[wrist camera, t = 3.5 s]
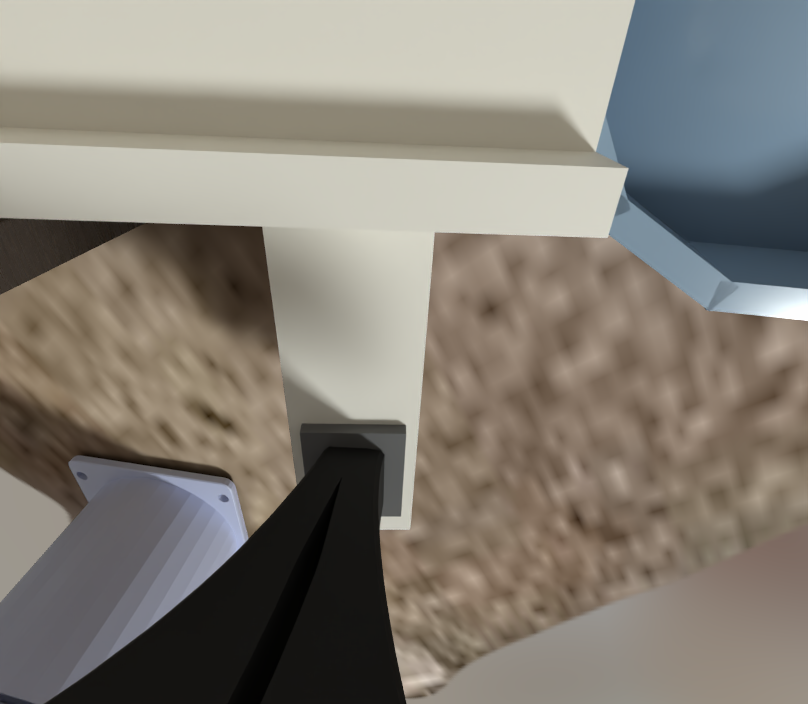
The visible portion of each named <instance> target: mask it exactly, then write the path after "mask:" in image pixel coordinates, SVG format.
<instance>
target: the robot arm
mask: <svg viewBox="0 0 808 704" xmlns="http://www.w3.org/2000/svg"><path fill="white" fill-rule="evenodd" d="M384 461H385V454H384V453H383V452H382V451H381V450H375V449H368V448H349V447H330V446H329V447H328V448H326V449H325V450H324V451H323V453H322V454H321V455H320V457H319V458H318V459H317V461H316V462H315V463H314V465H313V466H312V467H311V469H310V470H309V471H308V472H307V474H306V475H305V476H304V477H303V479H302V480H301V481H300V482H299V483H298V485H297V486H296V487H295V488H294V490H293V491H292V492H291V493H290V494H289V495H288V496H287V498H286V499H285V500H284V501H283V502H282V503H281V505H280V506H279V507H278V508H277V509H276V510H275V511H274V513H273V514H272V515H271V516H270V517H269V518H268V519H267V520H266V521H265V522H264V523H263V524H262V525H261V526H260V528H259V529H258V530H257V531H256V532H255V533H254V534H253V535H252V536H251V537H250V538H249V539H248V535H247V531H246V527H245V523H244V519H243V515H242V511H241V507H240V503H239V499H238V495H237V491H236V487H235V485H234V483H233V482H232V481H231V480H229V479H227V478H224V477H218V476H211V475H205V474H198V473H192V472H185V471H179V470H172V469H166V468H159V467H153V466H146V465H140V464H133V463H127V462H120V461H114V460H107V459H101V458H95V457H88V456H82V455H76V456H74V457H73V458H72V459H71V460H70V461H69V463H68V464H69V467H70V469H71V471H72V473H73V475H74V477H75V479H76V480H77V482H78V484H79V486H80V488H81V490H82V492H83V493H84V495H85V497H86V499H87V501H88V504H87V505H86V506H85V507H84V509H83V510H82V511H81V512H80V513H79V514H78V515H77V516H76V518H75V519H74V520H73V521H72V522H71V523H70V524H69V525H68V527H67V528H66V529H65V530H64V531H63V532H62V533H61V535H60V536H59V537H58V538H57V539H56V540H55V541H54V542H53V544H52V545H51V546H50V547H49V548H48V549H47V550H46V552H45V553H44V554H43V555H42V556H41V557H40V558H39V559H38V561H37V562H36V563H35V564H34V565H33V566H32V567H31V568H30V570H29V571H28V572H27V573H26V574H25V575H24V576H23V578H22V579H21V580H20V581H19V582H18V583H17V584H16V585H15V587H14V588H13V589H12V590H11V591H10V592H9V593H8V594H7V596H6V597H5V598H4V599H3V600H2V601H1V602H0V704H406V700H405V695H404V690H403V686H402V681H401V676H400V672H399V667H398V662H397V658H396V653H395V647H394V642H393V636H392V631H391V625H390V619H389V613H388V606H387V600H386V593H385V586H384V578H383V569H382V559H381V549H380V535H379V531H380V522H381V515H382V509H383V498H384Z"/></svg>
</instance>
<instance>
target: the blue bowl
mask: <svg viewBox="0 0 808 704" xmlns="http://www.w3.org/2000/svg"><path fill="white" fill-rule="evenodd" d="M596 152H597V153H599V154H601V155H603V156H605V157H607V158H609V159H611V160H613V161H615V162H617V163H619V164H621V165H623V166H625V167H627V168H629V169H628V172H627V175H626V179H625V182H624V185H623V189H622V192H621V195H620V198H619V202H618V205H617V208H616V212H615V215H614V218H613V222H612V225H611V228H610V231H609V235H610V236H611V237H612V238H614V239H615V240H616V241H618V242H619V243H620V244H622V245H623V246H624V247H626V248H627V249H628V250H630V251H631V252H632V253H634V254H635V255H636V256H637V257H639V258H640V259H641V260H643V261H644V262H645V263H647V264H648V265H649V266H651V267H652V268H653V269H655V270H656V271H657V272H659V273H660V274H661V275H663V276H664V277H665V278H666V279H668V280H669V281H670V282H672V283H673V284H674V285H676V286H677V287H678V288H680V289H681V290H682V291H684V292H685V293H686V294H688V295H689V296H690V297H691V298H693V299H694V300H695V301H697V302H698V303H699V304H701V305H702V306H703V307H704V308H705V309H706V310H709V311H720V312H730V313H739V314H749V315H759V316H768V317H778V318H788V319H797V320H807V321H808V0H635V3H634V7H633V11H632V15H631V19H630V23H629V26H628V30H627V34H626V38H625V42H624V46H623V49H622V53H621V57H620V61H619V65H618V69H617V73H616V76H615V80H614V84H613V88H612V92H611V96H610V99H609V103H608V107H607V111H606V115H605V119H604V123H603V126H602V130H601V134H600V138H599V142H598V146H597V149H596Z"/></svg>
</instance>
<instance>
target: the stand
mask: <svg viewBox="0 0 808 704" xmlns="http://www.w3.org/2000/svg"><path fill="white" fill-rule="evenodd" d="M142 224H144V223H140V222H109V221H79V220H49V219H18V218H0V294H2V293H5V292H7V291H9V290H11V289H13V288H15V287H17V286H19V285H21V284H23V283H25V282H27V281H29V280H31V279H33V278H35V277H37V276H39V275H41V274H43V273H45V272H47V271H49V270H51V269H53V268H55V267H57V266H59V265H61V264H63V263H65V262H67V261H69V260H71V259H73V258H75V257H77V256H79V255H81V254H83V253H85V252H87V251H89V250H91V249H93V248H95V247H97V246H99V245H102V244H104V243H106V242H108V241H110V240H112V239H114V238H116V237H118V236H120V235H122V234H124V233H126V232H128V231H130V230H132V229H134V228H136V227H138V226H140V225H142Z"/></svg>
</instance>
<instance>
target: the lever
mask: <svg viewBox="0 0 808 704" xmlns="http://www.w3.org/2000/svg"><path fill="white" fill-rule="evenodd" d="M634 3H635V0H0V218H18V219H49V220H79V221H109V222H140V223H170V224H200V225H231V226H261V227H262V229H263V236H264V244H265V251H266V259H267V266H268V274H269V281H270V288H271V296H272V303H273V311H274V318H275V326H276V333H277V341H278V348H279V355H280V363H281V370H282V378H283V385H284V393H285V400H286V408H287V415H288V422H289V430H290V437H291V445H292V452H293V460H294V467H295V474H296V482H297V485H298V483H299V482H300V481H301V480H302V479H303V477H304V476H305V475H306V474H307V472H308V471H309V470H310V469H311V467H312V466H313V465H314V463H315V462H316V461H317V459H318V458H319V457H320V455H321V454H322V453H323V451H324V450H325V449H326V448H328V447H329V446H330V447H349V448H368V449H375V450H381V451H382V452H383V453H384V454H385V461H384V498H383V509H382V515H381V522H380V530H410V524H411V512H412V500H413V488H414V476H415V464H416V452H417V440H418V427H419V415H420V403H421V391H422V379H423V367H424V355H425V343H426V331H427V319H428V306H429V294H430V282H431V270H432V258H433V246H434V234H435V232H443V233H473V234H504V235H534V236H564V237H595V238H608V235H609V231H610V228H611V225H612V222H613V218H614V215H615V212H616V208H617V205H618V202H619V198H620V195H621V192H622V189H623V185H624V182H625V179H626V175H627V172H628V169H629V168H627V167H625V166H623V165H621V164H619V163H617V162H615V161H613V160H611V159H609V158H607V157H605V156H603V155H601V154H599V153H597V152H596V149H597V146H598V142H599V138H600V134H601V130H602V126H603V123H604V119H605V115H606V111H607V107H608V103H609V99H610V96H611V92H612V88H613V84H614V80H615V76H616V73H617V69H618V65H619V61H620V57H621V53H622V49H623V46H624V42H625V38H626V34H627V30H628V26H629V23H630V19H631V15H632V11H633V7H634Z"/></svg>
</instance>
